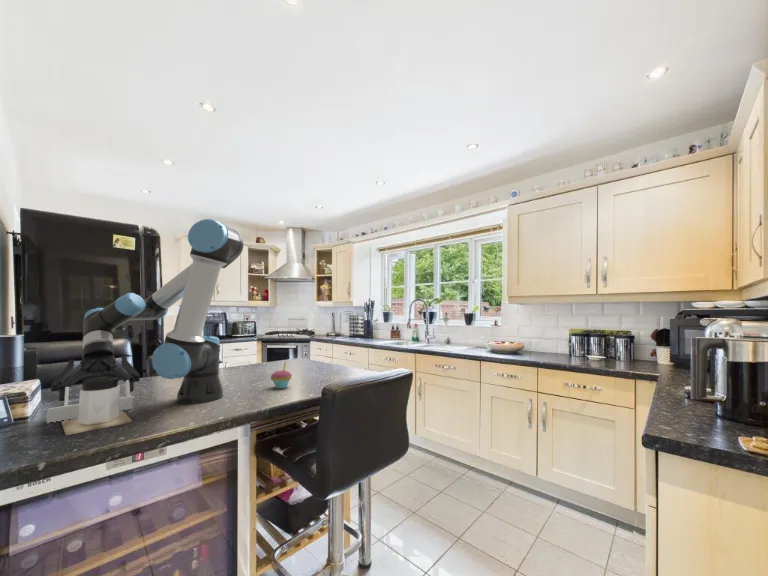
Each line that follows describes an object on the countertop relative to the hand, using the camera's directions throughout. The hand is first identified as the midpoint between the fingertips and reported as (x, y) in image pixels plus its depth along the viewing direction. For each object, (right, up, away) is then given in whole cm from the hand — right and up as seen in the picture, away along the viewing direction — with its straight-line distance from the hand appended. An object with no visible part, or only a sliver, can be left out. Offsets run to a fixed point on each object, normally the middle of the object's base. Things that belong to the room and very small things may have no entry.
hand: (98, 404), depth 95 cm
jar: (-1, -5, +2) cm, 6 cm away
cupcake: (+38, -9, +47) cm, 61 cm away
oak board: (-2, -6, +1) cm, 6 cm away
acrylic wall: (-9, -6, +8) cm, 14 cm away
